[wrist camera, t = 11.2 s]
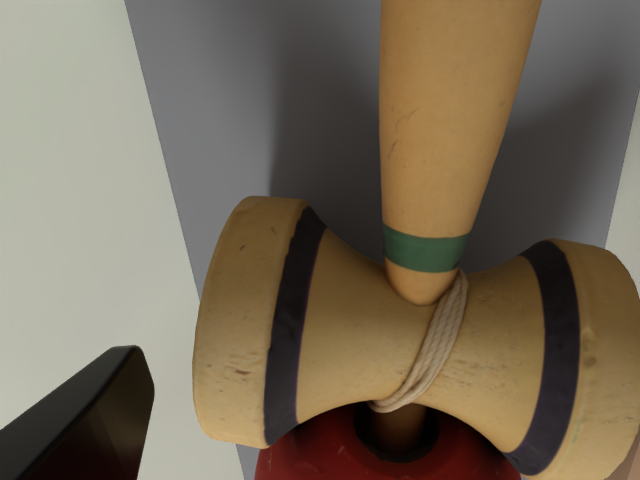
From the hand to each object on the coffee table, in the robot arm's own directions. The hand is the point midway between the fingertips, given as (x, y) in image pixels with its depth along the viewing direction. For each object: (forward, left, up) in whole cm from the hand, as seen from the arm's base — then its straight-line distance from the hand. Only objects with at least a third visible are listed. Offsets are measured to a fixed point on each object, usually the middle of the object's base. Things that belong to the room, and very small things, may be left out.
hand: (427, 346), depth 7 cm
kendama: (+1, 0, -4) cm, 5 cm away
